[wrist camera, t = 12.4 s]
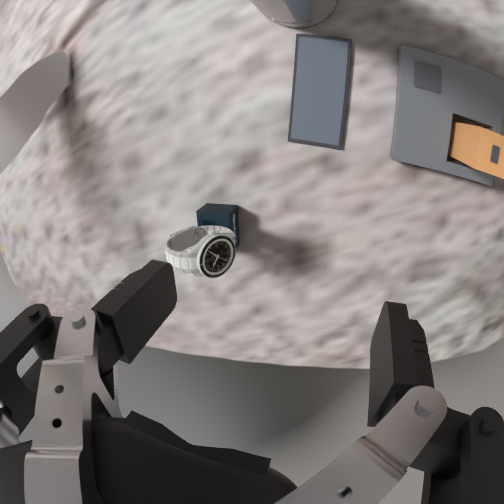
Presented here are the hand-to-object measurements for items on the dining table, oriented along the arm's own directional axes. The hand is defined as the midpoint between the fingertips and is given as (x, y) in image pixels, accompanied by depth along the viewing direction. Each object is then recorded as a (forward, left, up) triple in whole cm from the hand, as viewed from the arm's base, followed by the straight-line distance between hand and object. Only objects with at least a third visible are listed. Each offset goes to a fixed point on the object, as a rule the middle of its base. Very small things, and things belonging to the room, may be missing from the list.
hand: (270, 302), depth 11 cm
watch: (+9, -12, -26) cm, 30 cm away
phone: (-9, -1, -26) cm, 28 cm away
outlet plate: (-9, +14, -26) cm, 30 cm away
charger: (-6, +16, -26) cm, 31 cm away
